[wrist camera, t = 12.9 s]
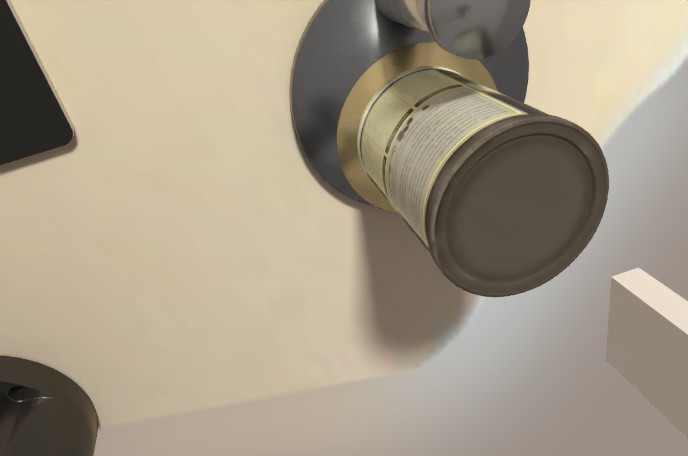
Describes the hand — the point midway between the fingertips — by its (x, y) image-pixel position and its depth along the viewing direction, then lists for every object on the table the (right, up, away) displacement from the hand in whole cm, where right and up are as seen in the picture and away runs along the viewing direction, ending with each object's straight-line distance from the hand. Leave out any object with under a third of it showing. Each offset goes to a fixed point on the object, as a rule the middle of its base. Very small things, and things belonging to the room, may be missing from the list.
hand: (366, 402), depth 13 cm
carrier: (+4, +14, +27) cm, 31 cm away
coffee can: (+5, +11, +28) cm, 31 cm away
